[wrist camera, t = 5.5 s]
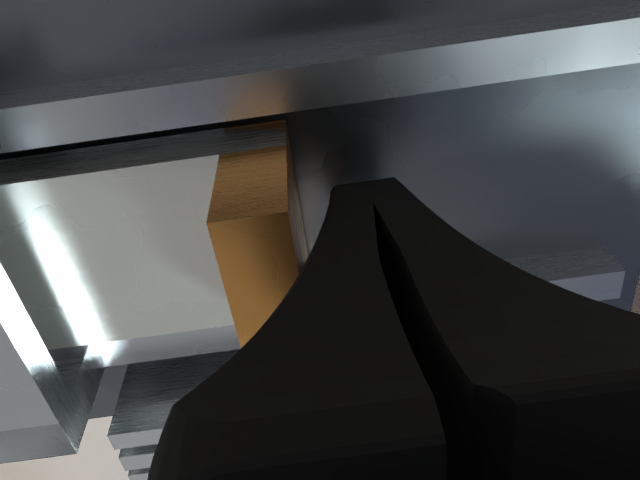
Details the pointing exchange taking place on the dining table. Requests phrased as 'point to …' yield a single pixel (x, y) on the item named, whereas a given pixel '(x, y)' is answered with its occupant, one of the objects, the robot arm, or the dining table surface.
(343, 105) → the heatsink plate
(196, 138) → the grey orange block
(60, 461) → the dining table surface
